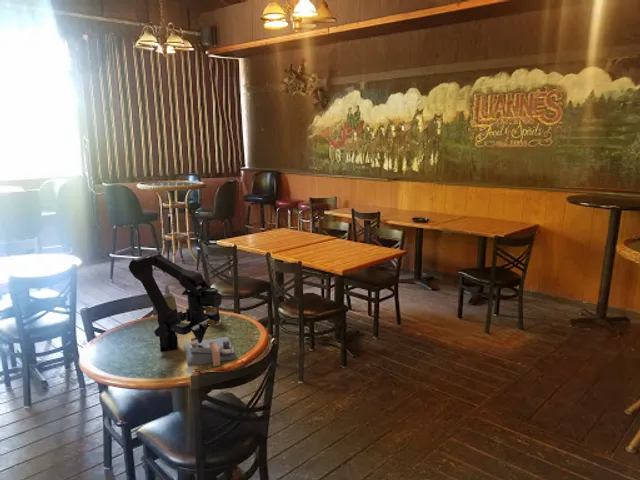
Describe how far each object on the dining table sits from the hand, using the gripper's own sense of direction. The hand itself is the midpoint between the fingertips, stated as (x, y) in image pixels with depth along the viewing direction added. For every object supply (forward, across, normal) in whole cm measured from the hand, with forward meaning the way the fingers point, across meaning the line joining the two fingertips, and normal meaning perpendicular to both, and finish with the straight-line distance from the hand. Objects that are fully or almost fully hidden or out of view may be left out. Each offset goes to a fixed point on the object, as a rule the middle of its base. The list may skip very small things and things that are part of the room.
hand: (199, 342), depth 198 cm
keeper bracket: (+4, +2, +10) cm, 11 cm away
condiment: (+4, -24, -21) cm, 33 cm away
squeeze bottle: (+4, -14, -38) cm, 41 cm away
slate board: (+4, -2, +3) cm, 5 cm away
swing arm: (+2, 0, +7) cm, 7 cm away
